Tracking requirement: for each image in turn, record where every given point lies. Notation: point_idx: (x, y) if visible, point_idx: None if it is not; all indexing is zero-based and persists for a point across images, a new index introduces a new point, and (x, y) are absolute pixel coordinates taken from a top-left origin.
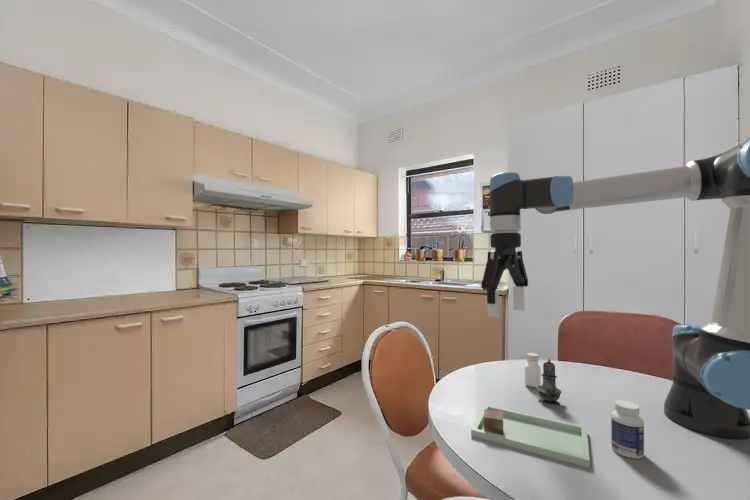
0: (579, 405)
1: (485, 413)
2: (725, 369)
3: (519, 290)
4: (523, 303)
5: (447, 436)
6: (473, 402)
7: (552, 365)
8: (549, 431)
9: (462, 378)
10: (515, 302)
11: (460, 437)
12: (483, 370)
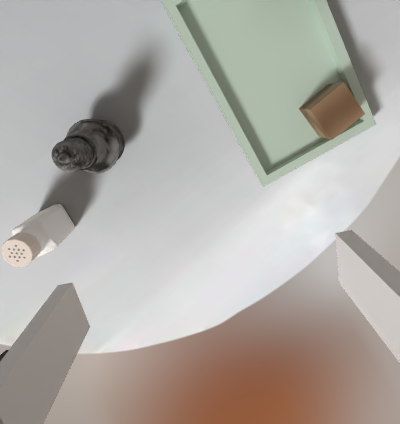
0: (49, 100)
1: (348, 123)
2: None
3: (21, 392)
4: (49, 308)
5: (394, 151)
6: (244, 224)
7: (68, 144)
8: (226, 52)
9: (173, 316)
10: (71, 346)
11: (378, 137)
12: (95, 326)
